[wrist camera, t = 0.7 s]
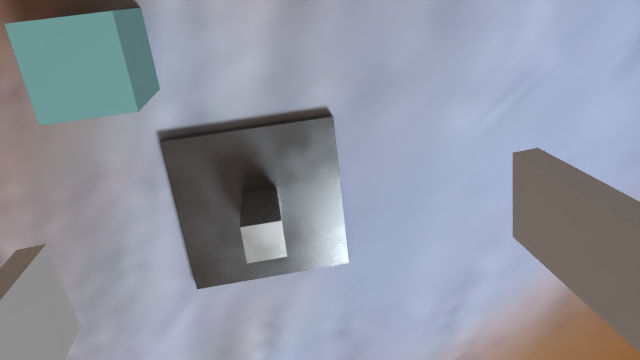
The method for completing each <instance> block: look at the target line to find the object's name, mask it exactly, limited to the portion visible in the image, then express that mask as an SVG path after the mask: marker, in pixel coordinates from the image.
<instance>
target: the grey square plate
mask: <svg viewBox="0 0 640 360" xmlns="http://www.w3.org/2000/svg"><path fill="white" fill-rule="evenodd" d="M161 145H162V149H163V153H164V157H165V161H166V165H167V170H168V174H169V178H170V182H171V186H172V190H173V194H174V198H175V202H176V206H177V210H178V214H179V218H180V222H181V226H182V230H183V234H184V238H185V242H186V246H187V250H188V254H189V259H190V263H191V267H192V271H193V275H194V279H195V283H196V287H197V289H201V288H207V287H213V286H218V285H224V284H230V283H236V282H241V281H247V280H253V279H259V278H265V277H270V276H276V275H282V274H288V273H293V272H299V271H305V270H311V269H316V268H322V267H328V266H334V265H340V264H345V263H349V262H348V252H347V243H346V233H345V224H344V214H343V205H342V195H341V186H340V176H339V167H338V157H337V148H336V138H335V129H334V120H333V116H332V114H329V115H322V116H315V117H308V118H301V119H294V120H288V121H281V122H274V123H267V124H260V125H253V126H246V127H239V128H233V129H226V130H219V131H212V132H205V133H198V134H191V135H184V136H178V137H171V138H164V139H162V141H161Z"/></svg>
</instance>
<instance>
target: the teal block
mask: <svg viewBox="0 0 640 360" xmlns="http://www.w3.org/2000/svg"><path fill="white" fill-rule="evenodd" d="M5 27H6V30H7V33H8V36H9V39H10V41H11V44H12V47H13V50H14V53H15V56H16V59H17V62H18V65H19V68H20V71H21V74H22V77H23V80H24V83H25V85H26V88H27V91H28V94H29V97H30V100H31V103H32V106H33V109H34V112H35V115H36V118H37V121H38V124H39V126H40V125H47V124H54V123H61V122H68V121H75V120H82V119H90V118H97V117H104V116H111V115H118V114H125V113H132V112H139V110H140V109H141V108H142V107H143V106H144V105H145V104H146V103H147V102H148V101H149V100H150V99H151V98H152V97H153V96H154V95H155V94H156V93H157V92H158V91H159V90H160V88H159V83H158V79H157V75H156V71H155V67H154V62H153V58H152V54H151V50H150V46H149V41H148V37H147V33H146V29H145V25H144V20H143V16H142V12H141V8H133V9H124V10H115V11H106V12H98V13H90V14H82V15H73V16H65V17H57V18H49V19H41V20H32V21H24V22H16V23H8V24H5Z"/></svg>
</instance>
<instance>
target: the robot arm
mask: <svg viewBox="0 0 640 360" xmlns="http://www.w3.org/2000/svg"><path fill="white" fill-rule="evenodd" d="M513 237H514V238H515V239H516V240H517V241H518V242H519V243H520V244H521V245H522V246H524V247H525V248H526V249H527V250H528V251H529V252H530V253H531V254H532V255H533V256H534V257H536V258H537V259H538V260H539V261H540V262H541V263H542V264H543V265H544V266H545V267H546V268H548V269H549V270H550V271H551V272H552V273H553V274H554V275H555V276H556V277H557V278H558V279H560V280H561V281H562V282H563V283H564V284H565V285H566V286H567V287H568V288H569V289H570V290H572V291H573V292H574V293H575V294H576V295H577V296H578V297H579V298H580V299H581V300H582V301H584V302H585V303H586V304H587V305H588V306H589V307H590V308H591V309H592V310H593V311H594V312H596V313H597V314H598V315H599V316H600V317H601V318H602V319H603V320H604V321H605V322H606V323H608V324H609V325H610V326H611V327H612V328H613V329H614V330H615V331H616V332H617V333H618V334H619V335H621V336H622V337H623V338H624V339H625V340H626V341H627V342H628V343H629V344H630V345H631V346H633V347H634V348H635V349H636V350H637V351H638V352H639V353H640V202H639V201H637V200H635V199H633V198H631V197H630V196H628V195H626V194H624V193H622V192H620V191H618V190H616V189H615V188H613V187H611V186H609V185H607V184H605V183H603V182H601V181H599V180H598V179H596V178H594V177H592V176H590V175H588V174H586V173H584V172H582V171H581V170H579V169H577V168H575V167H573V166H571V165H569V164H567V163H566V162H564V161H562V160H560V159H558V158H556V157H554V156H552V155H550V154H549V153H547V152H545V151H543V150H541V149H539V148H535V149H530V150H525V151H520V152H515V153H513ZM80 327H81V326H80V324H79V321H78V319H77V317H76V314H75V312H74V309H73V307H72V305H71V302H70V300H69V298H68V295H67V293H66V290H65V288H64V286H63V283H62V281H61V279H60V276H59V274H58V271H57V269H56V267H55V264H54V262H53V260H52V257H51V255H50V253H49V250H48V248H47V245H46V244H45V245H40V246H35V247H30V248H25V249H20V250H16V251H15V252H14V254H13V255H12V256H11V257H10V258H9V259H8V260H7V261H6V262H5V263H4V265H3V266H2V267H1V268H0V360H64V359H65V357H66V355H67V353H68V351H69V349H70V347H71V345H72V343H73V341H74V339H75V337H76V335H77V333H78V331H79V329H80Z"/></svg>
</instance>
